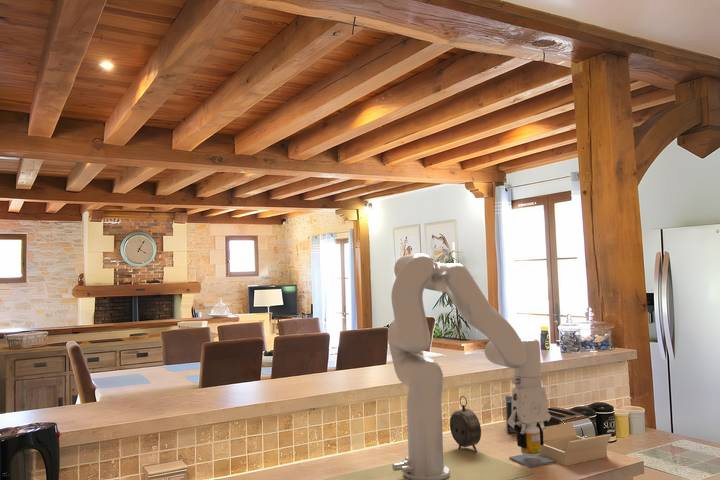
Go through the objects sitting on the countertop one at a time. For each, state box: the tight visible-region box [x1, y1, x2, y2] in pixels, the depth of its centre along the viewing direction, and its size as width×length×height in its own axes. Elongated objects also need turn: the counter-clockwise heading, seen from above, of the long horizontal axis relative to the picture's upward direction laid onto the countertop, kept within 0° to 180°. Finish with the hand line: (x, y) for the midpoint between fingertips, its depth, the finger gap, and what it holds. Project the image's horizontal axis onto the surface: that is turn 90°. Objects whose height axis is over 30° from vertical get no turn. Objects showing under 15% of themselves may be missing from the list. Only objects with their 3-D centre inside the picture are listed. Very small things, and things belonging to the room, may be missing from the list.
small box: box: [505, 395, 521, 434], centre depth 203 cm, size 11×6×10 cm, turn 168°
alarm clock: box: [449, 395, 482, 453], centre depth 183 cm, size 11×5×16 cm, turn 27°
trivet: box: [508, 453, 556, 469], centre depth 169 cm, size 9×9×1 cm
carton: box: [540, 421, 612, 466], centre depth 173 cm, size 16×16×7 cm
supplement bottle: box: [520, 423, 541, 456], centre depth 169 cm, size 5×5×10 cm
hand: (530, 444), depth 169 cm, fingers closed on supplement bottle, 5 cm apart
